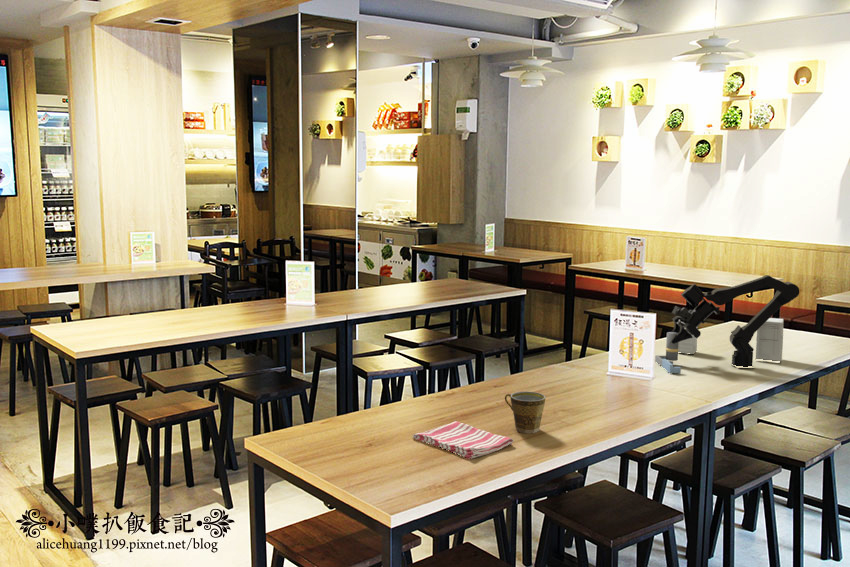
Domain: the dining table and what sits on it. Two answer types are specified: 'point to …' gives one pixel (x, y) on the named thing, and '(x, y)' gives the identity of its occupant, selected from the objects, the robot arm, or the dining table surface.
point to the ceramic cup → (527, 410)
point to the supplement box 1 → (688, 345)
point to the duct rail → (667, 364)
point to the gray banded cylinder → (671, 347)
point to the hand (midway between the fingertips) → (670, 341)
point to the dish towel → (464, 439)
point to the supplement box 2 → (770, 340)
